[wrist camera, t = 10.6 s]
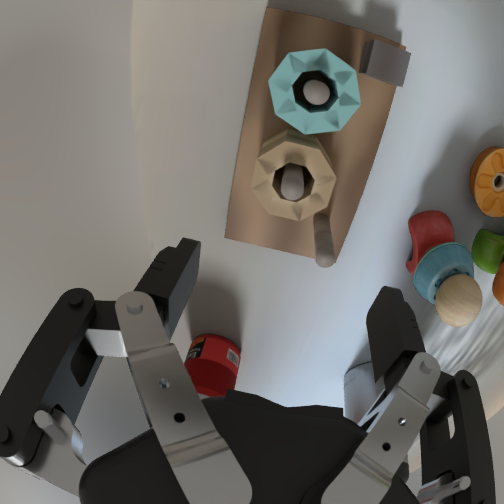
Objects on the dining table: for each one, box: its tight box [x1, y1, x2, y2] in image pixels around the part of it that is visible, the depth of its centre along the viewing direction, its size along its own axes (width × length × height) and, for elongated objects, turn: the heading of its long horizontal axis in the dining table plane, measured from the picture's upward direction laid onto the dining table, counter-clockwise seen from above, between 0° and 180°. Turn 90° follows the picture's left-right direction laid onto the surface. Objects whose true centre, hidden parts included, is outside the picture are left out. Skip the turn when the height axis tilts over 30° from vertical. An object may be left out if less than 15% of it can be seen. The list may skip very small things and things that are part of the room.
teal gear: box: [268, 48, 361, 135], centre depth 20 cm, size 6×6×5 cm
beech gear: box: [251, 128, 336, 221], centre depth 24 cm, size 6×6×5 cm
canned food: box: [184, 334, 241, 399], centre depth 41 cm, size 8×8×11 cm
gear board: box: [224, 7, 411, 267], centre depth 23 cm, size 12×23×8 cm, turn 170°
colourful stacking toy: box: [406, 147, 504, 327], centre depth 22 cm, size 18×17×12 cm
